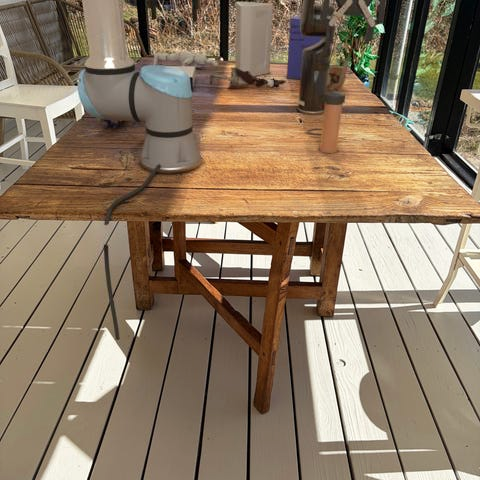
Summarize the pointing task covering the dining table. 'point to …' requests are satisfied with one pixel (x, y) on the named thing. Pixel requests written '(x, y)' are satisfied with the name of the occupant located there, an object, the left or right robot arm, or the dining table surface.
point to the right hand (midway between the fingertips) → (348, 43)
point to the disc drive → (190, 71)
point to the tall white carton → (253, 37)
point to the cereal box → (297, 48)
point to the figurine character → (108, 122)
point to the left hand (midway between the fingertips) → (174, 20)
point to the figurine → (246, 79)
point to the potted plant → (337, 76)
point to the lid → (334, 97)
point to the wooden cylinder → (330, 127)
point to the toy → (183, 58)
